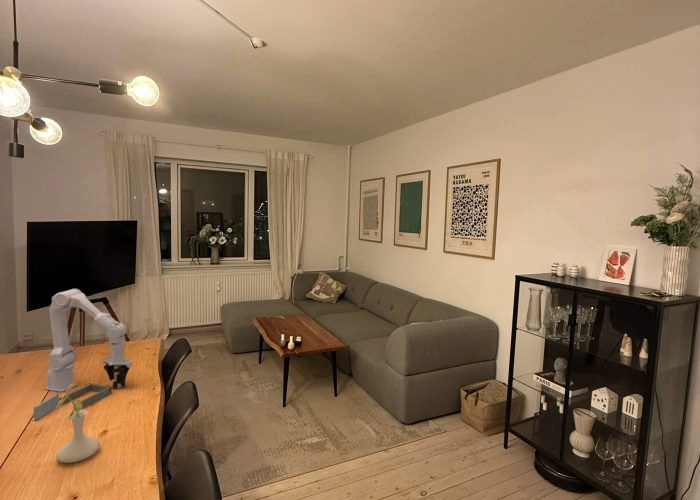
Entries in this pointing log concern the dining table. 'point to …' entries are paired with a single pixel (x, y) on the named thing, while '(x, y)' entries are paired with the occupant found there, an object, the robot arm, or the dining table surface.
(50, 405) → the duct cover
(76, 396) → the duct bay
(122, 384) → the push button
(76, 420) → the flower in vase
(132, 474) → the dining table surface
